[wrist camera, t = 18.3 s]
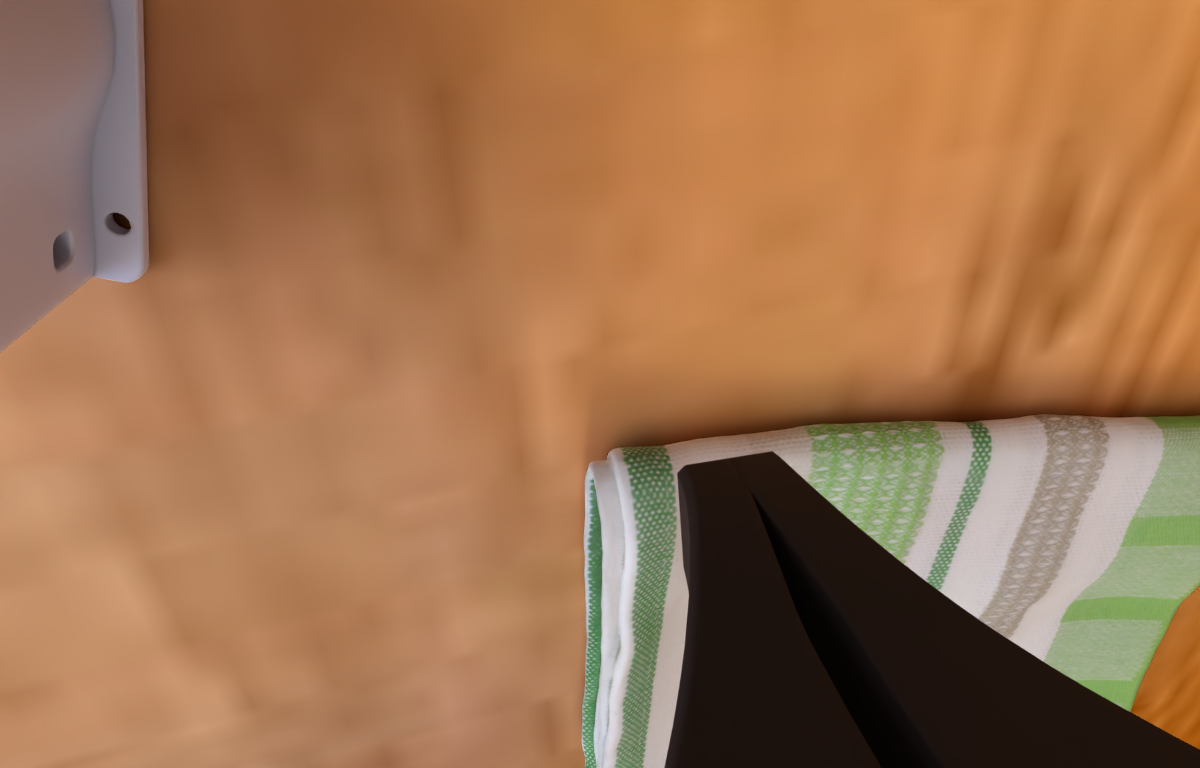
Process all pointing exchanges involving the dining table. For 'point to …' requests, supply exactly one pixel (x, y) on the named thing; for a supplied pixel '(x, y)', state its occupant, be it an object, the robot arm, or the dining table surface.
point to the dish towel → (915, 545)
